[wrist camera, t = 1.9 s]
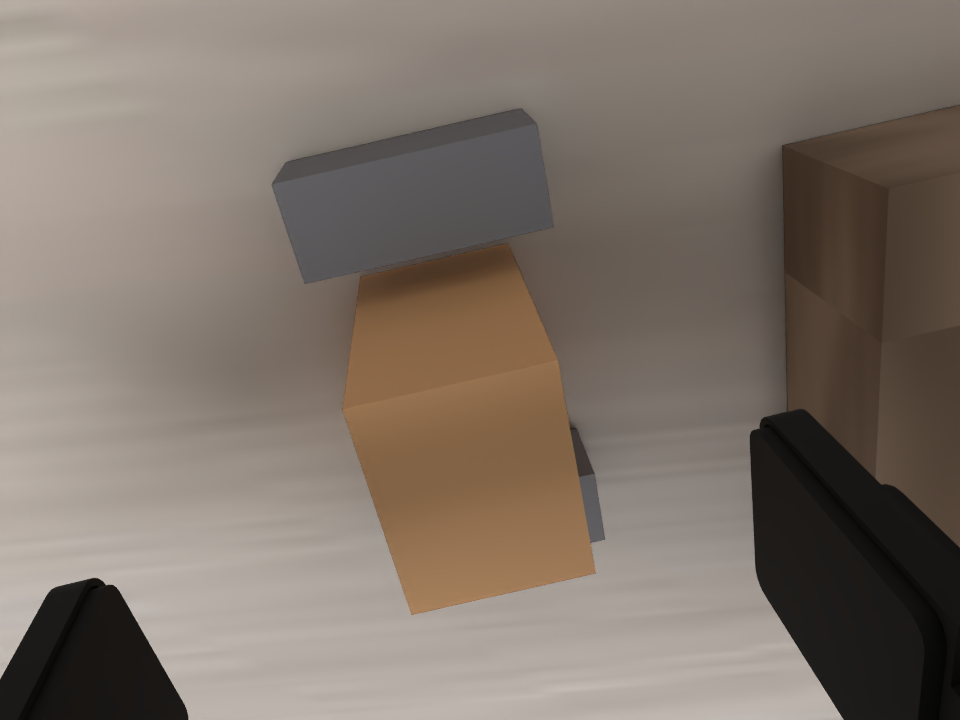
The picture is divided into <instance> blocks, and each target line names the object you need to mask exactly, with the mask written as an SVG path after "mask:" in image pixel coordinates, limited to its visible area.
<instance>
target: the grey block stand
mask: <svg viewBox="0 0 960 720" xmlns="http://www.w3.org/2000/svg"><path fill="white" fill-rule="evenodd" d="M272 187H273V190H274V193H275V196H276V199H277V202H278V205H279V208H280V211H281V214H282V217H283V220H284V223H285V226H286V229H287V232H288V235H289V238H290V241H291V244H292V247H293V250H294V253H295V256H296V259H297V262H298V265H299V268H300V271H301V274H302V277H303V280H304V283H305V284H308V283H312V282H317V281H321V280H325V279H330V278H334V277H338V276H343V275H347V274H352V273H356V272H360V271H365V270H369V269H374V268H378V267H382V266H387V265H391V264H395V263H400V262H404V261H409V260H413V259H417V258H422V257H426V256H430V255H435V254H439V253H444V252H448V251H452V250H457V249H461V248H466V247H470V246H474V245H479V244H483V243H487V242H492V241H496V240H501V239H505V238H509V237H514V236H518V235H523V234H527V233H531V232H536V231H540V230H544V229H549V228H553V227H554V225H553V218H552V212H551V206H550V200H549V194H548V188H547V182H546V176H545V170H544V164H543V158H542V152H541V145H540V139H539V133H538V127H537V123H536V122H535V121H534V120H533V119H532V118H531V117H530V116H529V115H528V114H526V113H525V112H524V111H523V110H522V109H516V110H512V111H508V112H503V113H499V114H494V115H490V116H486V117H481V118H477V119H473V120H468V121H464V122H460V123H455V124H451V125H446V126H442V127H438V128H433V129H429V130H425V131H420V132H416V133H412V134H407V135H403V136H398V137H394V138H390V139H385V140H381V141H377V142H372V143H368V144H364V145H359V146H355V147H350V148H346V149H342V150H337V151H333V152H329V153H324V154H320V155H316V156H311V157H307V158H302V159H298V160H294V161H289V162H286V163H285V165H284V166H283V168H282V169H281V171H280V172H279V174H278V176H277V177H276V179H275V180H274V182H273V183H272ZM570 431H571V436H572V442H573V448H574V453H575V459H576V464H577V470H578V476H579V481H580V487H581V493H582V498H583V504H584V510H585V515H586V521H587V526H588V532H589V538H590V543H592V542H596V541H601V540H605V535H604V529H603V523H602V517H601V511H600V504H599V498H598V492H597V486H596V480H595V474H594V471H593V469H592V466H591V464H590V461H589V459H588V456H587V454H586V451H585V449H584V446H583V444H582V441H581V439H580V436H579V434H578V431H577V429H572V430H570Z"/></svg>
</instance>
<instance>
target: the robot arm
mask: <svg viewBox="0 0 960 720" xmlns="http://www.w3.org/2000/svg"><path fill="white" fill-rule="evenodd" d="M750 456H751V479H752V501H753V523H754V545H755V567H756V573H757V578H758V581H759V584H760V586H761V588H762V591H763V592H764V594H765V596H766V598H767V599H768V601H769V602H770V604H771V605H772V607H773V609H774V610H775V612H776V613H777V615H778V616H779V618H780V620H781V621H782V623H783V624H784V626H785V628H786V629H787V631H788V632H789V634H790V635H791V637H792V639H793V640H794V642H795V643H796V645H797V646H798V648H799V650H800V651H801V653H802V654H803V656H804V658H805V659H806V661H807V662H808V664H809V665H810V667H811V669H812V670H813V672H814V673H815V675H816V677H817V678H818V680H819V681H820V683H821V684H822V686H823V688H824V689H825V691H826V692H827V694H828V695H829V697H830V699H831V700H832V702H833V703H834V705H835V707H836V708H837V710H838V711H839V713H840V714H841V716H842V718H843V719H844V720H960V547H959V546H958V545H957V544H956V543H954V542H953V541H952V540H951V539H950V538H949V537H948V536H947V535H946V534H945V533H944V532H943V531H942V530H941V529H940V528H939V527H938V526H937V525H936V524H935V523H934V522H933V521H932V520H931V519H930V518H929V517H928V516H926V515H925V514H924V513H923V512H922V511H921V510H920V509H919V508H918V507H917V506H916V505H915V504H914V503H913V502H912V501H911V500H910V499H909V498H908V497H907V496H906V495H905V494H904V493H903V492H901V491H900V490H899V489H897V488H896V487H895V486H892V485H888V484H883V485H881V484H880V483H879V482H878V481H877V480H876V479H875V478H874V477H873V476H872V475H871V474H870V473H869V472H868V471H867V470H866V469H865V468H864V467H863V466H862V465H861V464H860V463H859V462H858V461H857V460H856V459H855V458H854V457H853V456H852V455H851V454H850V453H849V452H848V451H847V450H846V449H845V448H844V447H843V446H842V445H841V444H840V443H839V442H838V441H837V440H836V439H835V438H834V437H833V436H832V435H831V434H830V433H829V432H828V431H827V430H826V429H825V428H824V427H823V426H822V425H821V424H820V423H819V422H818V421H817V420H816V419H815V418H814V417H813V416H812V415H811V414H810V413H809V412H807V411H806V410H804V409H797V410H793V411H788V412H784V413H780V414H776V415H772V416H767V417H764V418H763V419H762V420H761V423H760V429H757V430H753V431H752V432H751V434H750ZM0 720H188V713H187V710H186V707H185V705H184V703H183V701H182V700H181V698H180V696H179V694H178V693H177V691H176V689H175V687H174V686H173V684H172V682H171V681H170V679H169V677H168V675H167V674H166V672H165V670H164V668H163V667H162V665H161V663H160V661H159V660H158V658H157V656H156V654H155V653H154V651H153V649H152V647H151V646H150V644H149V642H148V640H147V639H146V637H145V635H144V633H143V632H142V630H141V628H140V626H139V625H138V623H137V621H136V619H135V618H134V616H133V614H132V612H131V611H130V609H129V607H128V605H127V604H126V602H125V600H124V599H123V597H122V595H121V593H120V592H119V590H118V589H117V588H116V587H115V586H114V585H105V583H104V582H103V581H101V580H100V579H98V578H91V579H87V580H83V581H79V582H75V583H71V584H66V585H62V586H58V587H55V588H53V589H52V590H51V591H50V592H49V593H48V594H47V596H46V598H45V600H44V601H43V603H42V605H41V607H40V609H39V610H38V612H37V614H36V616H35V618H34V619H33V621H32V623H31V625H30V627H29V628H28V630H27V632H26V634H25V636H24V637H23V639H22V641H21V643H20V645H19V646H18V648H17V650H16V652H15V654H14V656H13V657H12V659H11V661H10V663H9V665H8V666H7V668H6V670H5V672H4V674H3V675H2V677H1V679H0Z"/></svg>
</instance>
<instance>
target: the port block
mask: <svg viewBox="0 0 960 720" xmlns="http://www.w3.org/2000/svg"><path fill="white" fill-rule="evenodd" d="M783 191H784V244H785V296H786V349H787V402H788V411H793V410H797V409H804V410H806V411H807V412H809V413H810V414H811V415H812V416H813V417H814V418H815V419H816V420H817V421H818V422H819V423H820V424H821V425H822V426H823V427H824V428H825V429H826V430H827V431H828V432H829V433H830V434H831V435H832V436H833V437H834V438H835V439H836V440H837V441H838V442H839V443H840V444H841V445H842V446H843V447H844V448H845V449H846V450H847V451H848V452H849V453H850V454H851V455H852V456H853V457H854V458H855V459H856V460H857V461H858V462H859V463H860V464H861V465H862V466H863V467H864V468H865V469H866V470H867V471H868V472H869V473H870V474H871V475H872V476H873V477H874V478H875V479H876V480H877V481H878V482H879V483H880V484H881V485H883V484H888V485H892V486H895V487H896V488H897V489H899V490H900V491H901V492H903V493H904V494H905V495H906V496H907V497H908V498H909V499H910V500H911V501H912V502H913V503H914V504H915V505H916V506H917V507H918V508H919V509H920V510H921V511H922V512H923V513H924V514H925V515H926V516H928V517H929V518H930V519H931V520H932V521H933V522H934V523H935V524H936V525H937V526H938V527H939V528H940V529H941V530H942V531H943V532H944V533H945V534H946V535H947V536H948V537H949V538H950V539H951V540H952V541H953V542H954V543H956V544H957V545H958V546H959V547H960V105H958V106H953V107H949V108H945V109H940V110H936V111H932V112H927V113H923V114H918V115H914V116H910V117H905V118H901V119H897V120H892V121H888V122H883V123H879V124H875V125H870V126H866V127H861V128H857V129H853V130H848V131H844V132H840V133H835V134H831V135H826V136H822V137H818V138H813V139H809V140H805V141H800V142H796V143H791V144H787V145H783Z"/></svg>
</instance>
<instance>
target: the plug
mask: <svg viewBox="0 0 960 720" xmlns="http://www.w3.org/2000/svg"><path fill="white" fill-rule="evenodd" d="M342 410H343V413H344V416H345V419H346V422H347V425H348V428H349V431H350V434H351V437H352V440H353V443H354V446H355V449H356V452H357V455H358V458H359V461H360V464H361V467H362V470H363V473H364V475H365V478H366V481H367V484H368V487H369V490H370V493H371V496H372V499H373V502H374V505H375V508H376V511H377V514H378V517H379V520H380V523H381V526H382V529H383V532H384V535H385V538H386V541H387V544H388V547H389V550H390V553H391V556H392V559H393V562H394V564H395V567H396V570H397V573H398V576H399V579H400V582H401V585H402V588H403V591H404V594H405V597H406V600H407V603H408V606H409V609H410V612H411V615H414V614H418V613H423V612H427V611H431V610H436V609H440V608H445V607H449V606H454V605H458V604H462V603H467V602H471V601H476V600H480V599H484V598H489V597H493V596H498V595H502V594H507V593H511V592H515V591H520V590H524V589H529V588H533V587H538V586H542V585H546V584H551V583H555V582H560V581H564V580H569V579H573V578H577V577H582V576H586V575H591V574H595V573H596V572H595V566H594V560H593V555H592V549H591V543H590V538H589V532H588V526H587V521H586V515H585V510H584V504H583V498H582V493H581V487H580V481H579V476H578V470H577V464H576V459H575V453H574V448H573V442H572V436H571V431H570V425H569V419H568V414H567V408H566V402H565V397H564V391H563V386H562V380H561V374H560V369H559V363H558V359H557V357H556V354H555V352H554V350H553V347H552V345H551V343H550V340H549V338H548V336H547V333H546V331H545V329H544V326H543V324H542V322H541V319H540V317H539V315H538V312H537V310H536V308H535V305H534V303H533V301H532V298H531V296H530V294H529V291H528V289H527V286H526V284H525V282H524V279H523V277H522V275H521V272H520V270H519V268H518V265H517V263H516V261H515V258H514V256H513V254H512V251H511V249H510V247H509V244H508V243H507V244H503V245H498V246H494V247H489V248H485V249H481V250H476V251H472V252H468V253H463V254H459V255H454V256H450V257H446V258H441V259H437V260H433V261H428V262H424V263H419V264H415V265H411V266H406V267H402V268H398V269H393V270H389V271H384V272H380V273H376V274H371V275H367V276H363V277H361V278H360V285H359V292H358V299H357V307H356V314H355V321H354V328H353V335H352V343H351V350H350V357H349V364H348V372H347V379H346V386H345V393H344V400H343V408H342Z"/></svg>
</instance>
